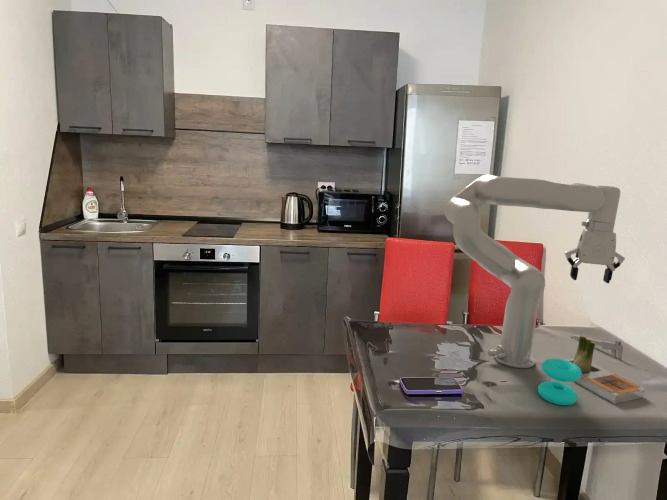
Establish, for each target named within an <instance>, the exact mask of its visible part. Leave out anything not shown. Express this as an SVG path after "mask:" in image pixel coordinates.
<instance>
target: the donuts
mask: <svg viewBox="0 0 667 500" xmlns="http://www.w3.org/2000/svg"><path fill="white" fill-rule="evenodd" d="M541 369H542V372H543V373H544V374H545V375H546V376H548V377H549V378H551V379H553V380H545V381H542V382H541V383H540V384H539V385H538V386H537V392H538V394H539V396H540V397H541V398H542V399H543V400H545V401H547V402H549V403H551V404H555V405H557V406H571V405H573V404H574V403H576V402H577V399H578V395H577V392H576V391H575V389H574V388H572V387H571V386H570V385H568V384H566V383H572V382H574V381H576V380H578V379H579V378H580V377H581V374H582V372H581V370H580V368H579V367H578V366H577V365H575V364H574V363H572V362H569V361H566V360H564V359H561V358H555V357H554V358H547V359H545V360H544V361H543V362H542V363H541Z"/></svg>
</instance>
